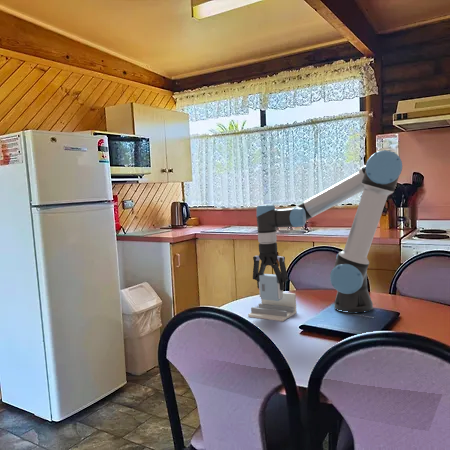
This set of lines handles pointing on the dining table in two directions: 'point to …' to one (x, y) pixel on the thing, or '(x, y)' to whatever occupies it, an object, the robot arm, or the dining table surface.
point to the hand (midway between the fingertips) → (271, 297)
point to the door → (269, 287)
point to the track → (276, 308)
